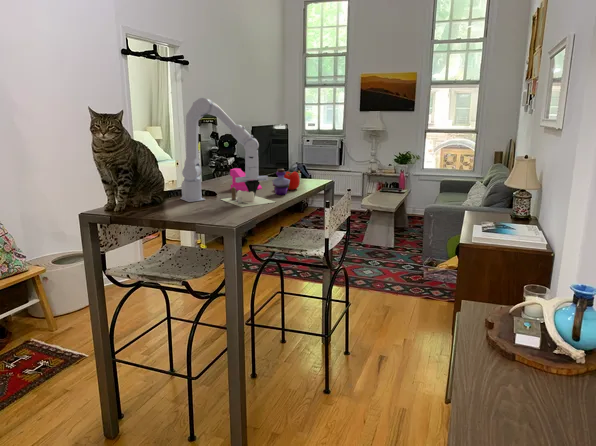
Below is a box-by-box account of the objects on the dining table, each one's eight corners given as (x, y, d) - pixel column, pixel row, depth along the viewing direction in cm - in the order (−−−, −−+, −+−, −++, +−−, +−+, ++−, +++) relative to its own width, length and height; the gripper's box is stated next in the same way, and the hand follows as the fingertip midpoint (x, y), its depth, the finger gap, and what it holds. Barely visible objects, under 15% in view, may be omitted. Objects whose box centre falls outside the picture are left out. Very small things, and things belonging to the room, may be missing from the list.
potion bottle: (293, 194, 214) (293, 168, 211) (281, 196, 208) (281, 170, 205) (280, 191, 220) (280, 167, 217) (268, 194, 213) (267, 169, 210)
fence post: (230, 200, 198) (230, 187, 196) (234, 199, 199) (234, 186, 198) (232, 201, 196) (232, 187, 195) (236, 200, 198) (236, 187, 196)
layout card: (220, 199, 199) (220, 198, 199) (253, 195, 209) (253, 194, 209) (242, 207, 185) (242, 206, 185) (276, 202, 195) (276, 201, 194)
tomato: (301, 187, 232) (301, 170, 229) (295, 191, 220) (296, 173, 218) (281, 186, 234) (281, 169, 232) (275, 190, 223) (274, 172, 221)
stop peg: (237, 204, 190) (237, 197, 190) (240, 203, 191) (240, 197, 191) (239, 204, 189) (239, 198, 188) (242, 204, 190) (242, 197, 189)
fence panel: (237, 200, 196) (236, 190, 195) (238, 199, 197) (238, 190, 196) (253, 201, 193) (253, 192, 192) (254, 201, 194) (254, 191, 193)
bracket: (230, 189, 224) (230, 169, 222) (242, 186, 233) (241, 167, 231) (251, 192, 219) (250, 171, 217) (262, 188, 228) (261, 168, 226)
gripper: (263, 164, 201) (263, 194, 204) (232, 166, 194) (233, 197, 197) (270, 166, 195) (270, 197, 198) (238, 168, 188) (239, 200, 191)
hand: (252, 197), depth 197 cm, fingers closed
